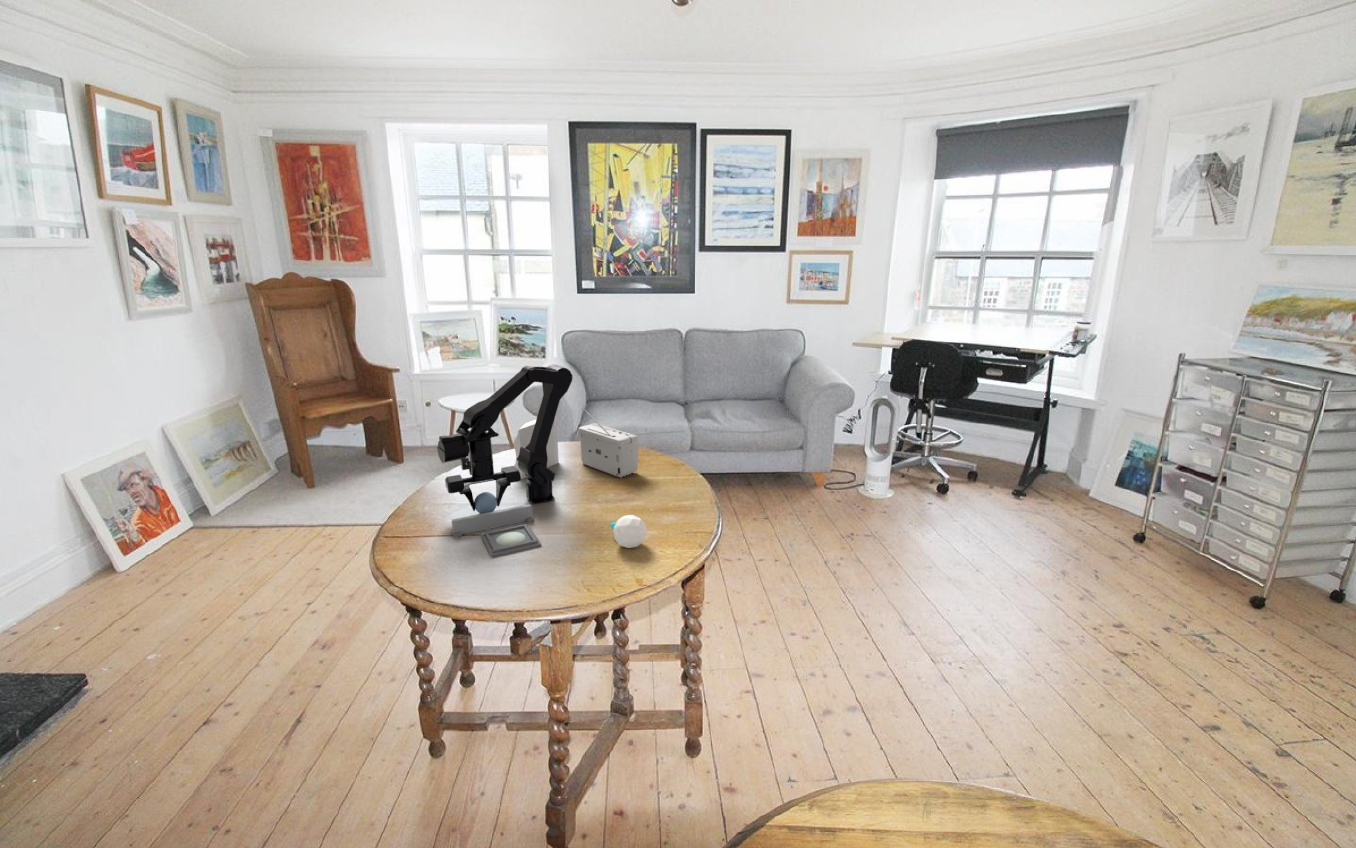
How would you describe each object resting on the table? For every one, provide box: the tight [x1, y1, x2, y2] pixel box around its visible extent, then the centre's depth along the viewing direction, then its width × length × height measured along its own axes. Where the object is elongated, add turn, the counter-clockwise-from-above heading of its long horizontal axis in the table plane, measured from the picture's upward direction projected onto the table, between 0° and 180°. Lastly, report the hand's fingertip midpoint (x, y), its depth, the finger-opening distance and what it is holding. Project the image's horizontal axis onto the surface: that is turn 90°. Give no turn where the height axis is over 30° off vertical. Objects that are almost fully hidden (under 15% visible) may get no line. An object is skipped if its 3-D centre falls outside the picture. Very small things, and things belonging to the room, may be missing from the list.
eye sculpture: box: [513, 416, 559, 480], centre depth 193 cm, size 17×12×16 cm
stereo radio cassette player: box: [578, 407, 639, 479], centre depth 192 cm, size 21×8×20 cm, turn 49°
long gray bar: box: [451, 503, 535, 539], centre depth 154 cm, size 20×4×4 cm, turn 119°
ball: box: [473, 491, 498, 514], centre depth 161 cm, size 6×6×6 cm
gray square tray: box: [480, 523, 542, 558], centre depth 147 cm, size 12×12×1 cm
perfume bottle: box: [610, 514, 647, 549], centre depth 146 cm, size 8×8×12 cm
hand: (486, 508), depth 161 cm, fingers closed on ball, 6 cm apart
